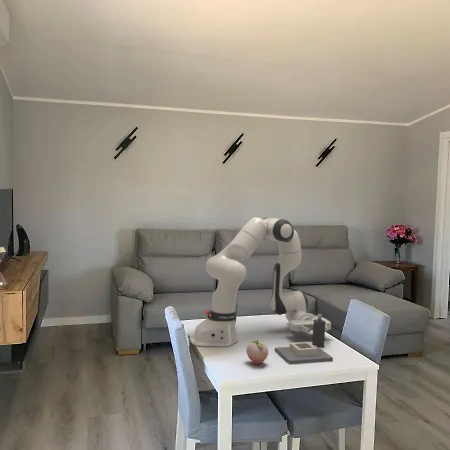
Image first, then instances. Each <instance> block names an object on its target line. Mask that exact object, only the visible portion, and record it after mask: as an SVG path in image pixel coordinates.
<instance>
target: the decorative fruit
mask: <svg viewBox="0 0 450 450" xmlns="http://www.w3.org/2000/svg"><path fill="white" fill-rule="evenodd" d="M245 350H246V351H245V352H246V355H247V357H248V358H249V360H250V361H251V362H253V363H254V364H256V365H258V364H261V363H264V362H265V360H267V357H268V356H269V348H268V346H267V345H266V344H265V343H264V342H261V341H259V339H257V340H252V341H251V342H250V343H249V344H248V345H247V347H246V349H245Z"/></svg>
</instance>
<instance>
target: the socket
mask: <svg viewBox="0 0 450 450" xmlns="http://www.w3.org/2000/svg"><path fill="white" fill-rule="evenodd" d="M274 352H275V353H276V354H277V355H278V356H280V358H282V359H283V360H284V361H285V362H286V363H288V364H289V365H297V364H300V365H301V364H309V363H311V364H312V363H325V362H326V361H327V362H334V357H333V356H332V355H330V354H329V353H327V352H326V351H324V350H323V348H321V347H317V346H316V345H312V343H311V342H309V341H303V342H302V341H301V342H290V343H289V346H283V347H282V346H281V347H280V346H279V347H274ZM327 362H326V363H327Z"/></svg>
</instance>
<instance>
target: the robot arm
mask: <svg viewBox="0 0 450 450" xmlns="http://www.w3.org/2000/svg"><path fill="white" fill-rule="evenodd" d="M262 240H270V241H273V242H277V244H278V254H279V255H278V260H277V262H276V263H275V264H274V267H273V272H272V273H273V274H272V275H273V276H272V290H271V292H272V293H271V298H270V299H271V300H270V308H271V310H272V312H274V313H275V314H276V315H279V316H282V315H285V318H286V320H287V322H286V325H287V326H288V327H289V329H290V330H291V331H292V332H306V333H310V332H311V331H312V332H313V323H314V320H315V319H318V314H315V313H314V314H313V313H309V312H308V309H309V300H308V297H307V295H306V294H305V293H304V292H303V291H302V290H294V291H290V292H285V293H283V284H284V283H283V282H284V281H283V280H284V277H285V276H286V275H287V274H289V273H290V272H291V271H293V270H294V269H296V268H297V267H298V266H300V264H301V261H302V257H303V256H302V255H303V254H302V253H303V252H302V247H301V245H302V244H301V240H300V237H299V234H298V231H296V230H295V229H294V227H293V225H292V223H291V222H290V221H288V220H287V219H284V218H277V217H264V218H262V217H258V216H254V217H252V218H250V220H248V221H247V223H245V224H244V226H243V227H242V228H241V229H240V230H239V231H238V232H237V234H236V235H235V237H234V238H233V239H232V240H231V242H230V243H229V244H228V245H226V246H225V247H224V248H223V249H222V250H220V251H219V252H218V253H216V254H215V255H214V256H211V257H209V258H208V259H207V261H206V263H205V271H206V272H207V274H208V275H209V276H211V278H213V279H214V280H215V279H216V280H218V284H217V288H216V289H215V290H214V292H213V293H212V296H211V297H212V299H211V300H212V302H211V303H212V304H211V306H212V307H211V310H209V309H205V310H204V313H205V314H206V316H207V318H205V319H204V320H203V321H201V322H200V323H198V324H197V325H196V327H195V330H194V334H191V335H190V336H189V342H190V343H191V344H192V345H193V346H196V347H219V348H220V347H228V348H229V347H231V346H232V345H234V344H236V343H238V337H237V329H236V328H237V327H236V322H237V310H236V309H237V307H236V304H237V293H238V290H239V288H240V285H241V284H242V283H243V282H244V281H245V280H246V277H247V268H246V266H245V265H243V263H242V262H244V261H245V260H247V259H249V258H250V257H251V255H253V253H254V251H255V250H256V249H257V248H258V246H259V245H260V243H261V242H262ZM321 319H322V320H324V321H325V322H326V323H325V332H328V331H330V330H331V329H332V323H331V321H329V320H328V319H327V318H325V317H322V318H321Z"/></svg>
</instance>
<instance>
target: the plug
mask: <svg viewBox="0 0 450 450" xmlns="http://www.w3.org/2000/svg"><path fill="white" fill-rule="evenodd" d="M317 315H318V319H315V320H314V323H313V331H312V343H311V344H312V345H316V346H317V347H319V348H325V341H326V340H325V337H326V335H325V334H326V331H325V323H326V322H325V321H324V320H322V319H321V318H323V317H322V313H318V314H317Z"/></svg>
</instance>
